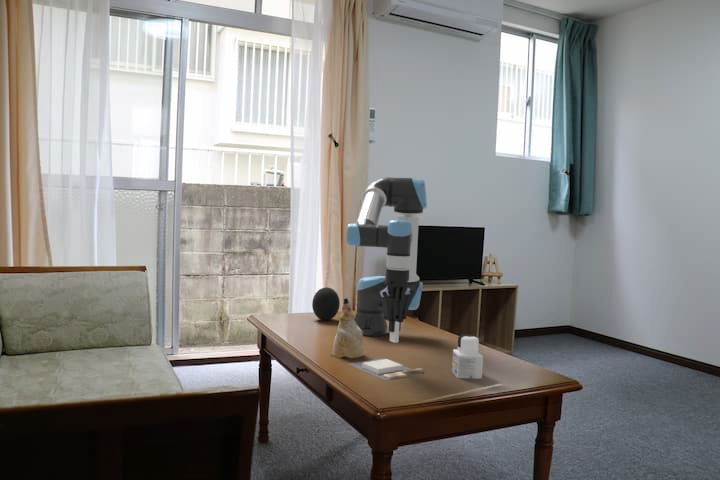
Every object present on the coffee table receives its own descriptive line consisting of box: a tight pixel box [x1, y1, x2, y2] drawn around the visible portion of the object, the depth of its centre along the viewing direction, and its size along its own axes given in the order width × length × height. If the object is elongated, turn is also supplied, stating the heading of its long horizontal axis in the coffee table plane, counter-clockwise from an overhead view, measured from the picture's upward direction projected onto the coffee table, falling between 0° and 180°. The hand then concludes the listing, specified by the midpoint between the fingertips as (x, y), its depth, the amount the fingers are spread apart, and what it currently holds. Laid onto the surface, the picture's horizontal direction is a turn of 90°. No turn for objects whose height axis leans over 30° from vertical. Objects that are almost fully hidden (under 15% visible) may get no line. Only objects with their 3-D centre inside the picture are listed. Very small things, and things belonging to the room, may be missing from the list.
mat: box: [348, 357, 424, 381], centre depth 180 cm, size 15×20×1 cm
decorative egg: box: [311, 287, 341, 322], centre depth 255 cm, size 12×12×15 cm
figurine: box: [330, 297, 365, 359], centre depth 195 cm, size 12×10×20 cm
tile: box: [362, 358, 404, 374], centre depth 179 cm, size 2×8×10 cm
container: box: [451, 334, 484, 380], centre depth 177 cm, size 8×8×13 cm
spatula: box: [383, 367, 425, 380], centre depth 174 cm, size 15×3×1 cm, turn 126°
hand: (393, 341), depth 181 cm, fingers closed
